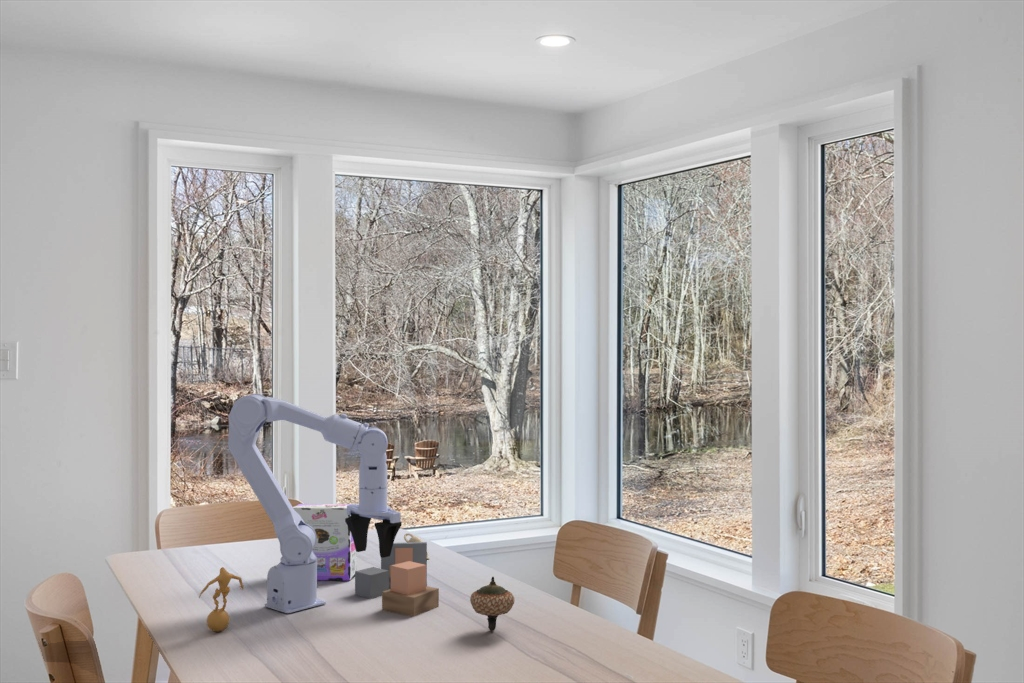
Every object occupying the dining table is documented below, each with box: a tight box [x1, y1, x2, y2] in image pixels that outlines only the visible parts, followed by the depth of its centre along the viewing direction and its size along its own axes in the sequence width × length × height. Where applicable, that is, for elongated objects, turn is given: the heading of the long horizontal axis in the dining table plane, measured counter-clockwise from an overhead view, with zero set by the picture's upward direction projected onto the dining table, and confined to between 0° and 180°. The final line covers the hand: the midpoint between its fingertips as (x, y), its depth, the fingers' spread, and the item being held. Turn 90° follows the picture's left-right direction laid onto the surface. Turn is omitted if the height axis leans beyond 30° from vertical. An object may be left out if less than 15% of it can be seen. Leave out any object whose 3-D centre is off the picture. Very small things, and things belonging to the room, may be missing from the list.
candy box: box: [292, 503, 357, 581], centre depth 203 cm, size 14×6×16 cm, turn 84°
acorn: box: [469, 576, 515, 632], centre depth 164 cm, size 8×8×10 cm
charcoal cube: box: [354, 566, 390, 600], centre depth 189 cm, size 5×5×5 cm
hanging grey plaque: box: [380, 541, 428, 589], centre depth 197 cm, size 6×10×9 cm, turn 97°
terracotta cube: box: [390, 561, 426, 595], centre depth 178 cm, size 5×5×5 cm
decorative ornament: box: [403, 532, 430, 560], centre depth 223 cm, size 4×8×5 cm, turn 29°
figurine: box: [198, 567, 244, 633], centre depth 163 cm, size 8×6×12 cm
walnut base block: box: [381, 585, 440, 618], centre depth 178 cm, size 8×8×4 cm
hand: (373, 553), depth 183 cm, fingers open, 7 cm apart
